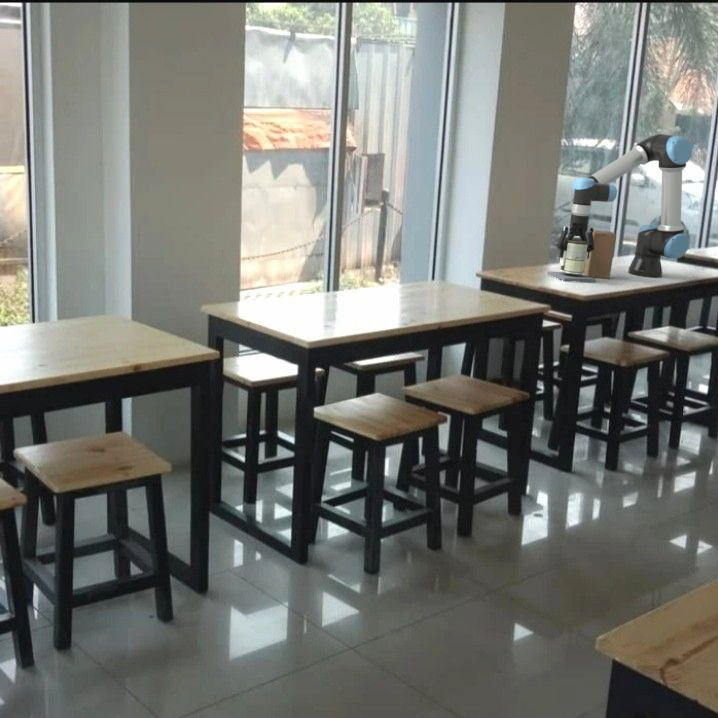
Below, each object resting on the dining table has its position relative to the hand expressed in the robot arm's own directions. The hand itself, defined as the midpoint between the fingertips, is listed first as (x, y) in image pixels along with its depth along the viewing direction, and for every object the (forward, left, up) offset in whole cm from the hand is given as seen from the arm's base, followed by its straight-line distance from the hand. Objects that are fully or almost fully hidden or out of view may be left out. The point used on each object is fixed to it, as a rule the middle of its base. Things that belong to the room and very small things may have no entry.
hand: (572, 265), depth 450 cm
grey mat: (0, 0, -6) cm, 6 cm away
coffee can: (0, 0, -3) cm, 3 cm away
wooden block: (-17, -8, -6) cm, 20 cm away
